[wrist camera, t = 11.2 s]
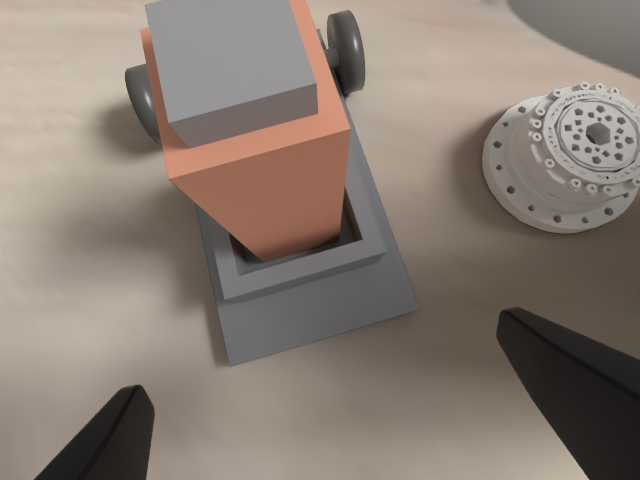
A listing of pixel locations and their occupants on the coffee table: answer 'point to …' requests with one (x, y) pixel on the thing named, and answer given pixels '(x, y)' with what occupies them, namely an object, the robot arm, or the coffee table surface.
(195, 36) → the two-tone capped block
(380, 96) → the coffee table surface
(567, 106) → the mechanical component
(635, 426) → the robot arm
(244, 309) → the chassis
